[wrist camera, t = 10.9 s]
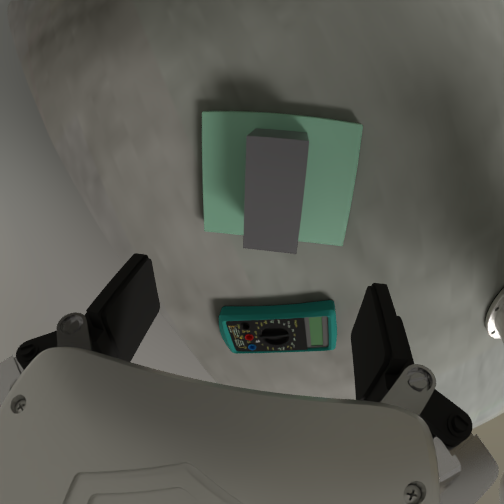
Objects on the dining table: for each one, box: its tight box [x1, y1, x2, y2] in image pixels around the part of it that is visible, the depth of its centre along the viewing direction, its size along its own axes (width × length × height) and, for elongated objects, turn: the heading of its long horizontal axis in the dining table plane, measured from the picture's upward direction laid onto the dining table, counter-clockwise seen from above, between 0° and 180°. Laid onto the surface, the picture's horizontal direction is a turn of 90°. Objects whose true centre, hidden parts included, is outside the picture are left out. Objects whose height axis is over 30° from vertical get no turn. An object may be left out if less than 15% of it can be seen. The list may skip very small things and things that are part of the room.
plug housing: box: [243, 128, 309, 254], centre depth 23 cm, size 4×9×5 cm, turn 178°
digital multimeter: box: [219, 300, 337, 353], centre depth 36 cm, size 7×15×3 cm, turn 102°
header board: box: [202, 111, 363, 246], centre depth 25 cm, size 14×12×4 cm
